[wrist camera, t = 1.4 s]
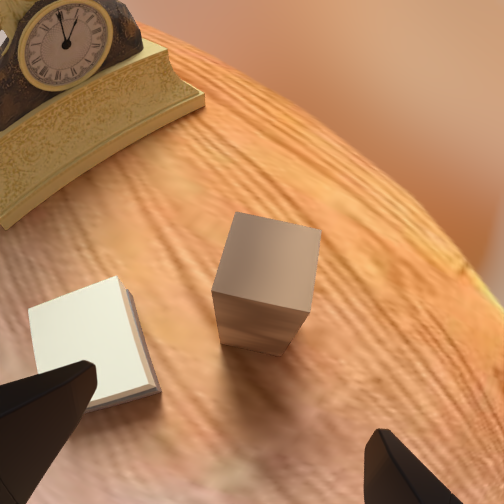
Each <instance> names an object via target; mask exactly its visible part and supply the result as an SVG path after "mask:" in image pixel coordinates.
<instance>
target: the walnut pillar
mask: <svg viewBox="0 0 504 504" xmlns="http://www.w3.org/2000/svg"><path fill="white" fill-rule="evenodd" d="M321 231H322V230H319V229H314V228H310V227H306V226H301V225H296V224H292V223H287V222H283V221H278V220H273V219H269V218H264V217H259V216H254V215H250V214H245V213H240V212H235V215H234V218H233V222H232V225H231V228H230V231H229V234H228V238H227V241H226V244H225V247H224V251H223V254H222V257H221V260H220V264H219V267H218V270H217V273H216V277H215V280H214V283H213V287H212V290H211V291H212V297H213V303H214V309H215V315H216V321H217V327H218V332H219V338H220V343H221V344H225V345H230V346H234V347H238V348H242V349H247V350H251V351H256V352H260V353H265V354H270V355H275V356H280V357H281V355H282V354H283V352H284V351H285V349H286V348H287V346H288V345H289V344H290V342H291V341H292V339H293V338H294V336H295V335H296V333H297V332H298V330H299V329H300V327H301V326H302V324H303V323H304V321H305V320H306V318H307V316H308V315H309V313H310V310H311V304H312V297H313V291H314V284H315V277H316V270H317V262H318V255H319V247H320V239H321Z"/></svg>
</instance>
